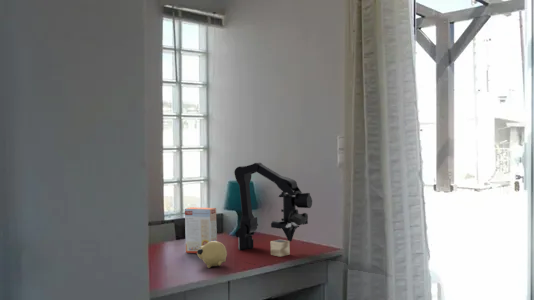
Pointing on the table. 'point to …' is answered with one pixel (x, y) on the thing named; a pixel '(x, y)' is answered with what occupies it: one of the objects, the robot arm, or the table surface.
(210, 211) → the cracker box
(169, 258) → the table surface
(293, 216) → the robot arm
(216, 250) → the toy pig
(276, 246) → the birch cube
